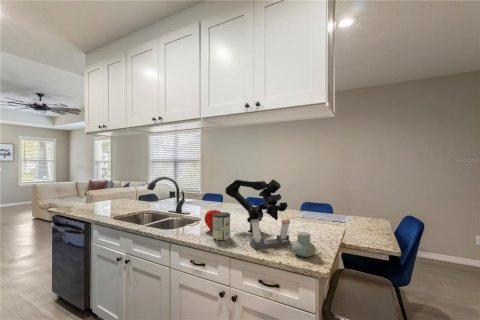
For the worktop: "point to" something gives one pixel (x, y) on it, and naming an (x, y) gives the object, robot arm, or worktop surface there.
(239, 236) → the worktop surface
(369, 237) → the worktop surface
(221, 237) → the coffee can
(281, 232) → the block
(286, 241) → the switch base
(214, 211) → the apple
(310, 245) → the air freshener
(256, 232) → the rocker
